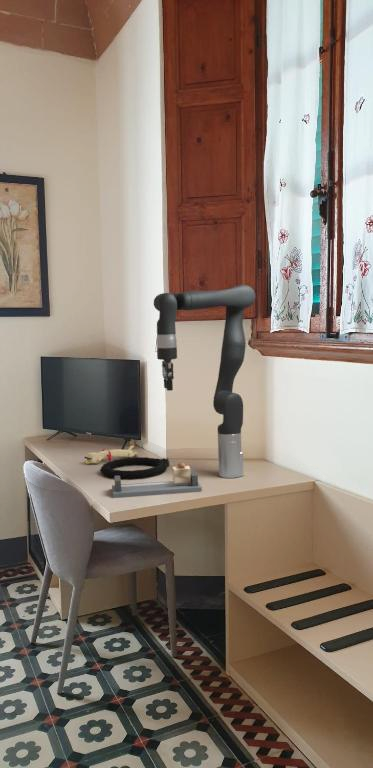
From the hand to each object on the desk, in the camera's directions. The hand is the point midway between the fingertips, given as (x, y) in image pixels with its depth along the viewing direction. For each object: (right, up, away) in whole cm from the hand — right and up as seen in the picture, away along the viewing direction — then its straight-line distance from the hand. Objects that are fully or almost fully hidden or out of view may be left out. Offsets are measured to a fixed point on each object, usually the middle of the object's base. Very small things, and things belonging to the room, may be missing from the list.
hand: (168, 389), depth 247 cm
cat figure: (-27, -33, +45) cm, 62 cm away
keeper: (+5, -34, -6) cm, 35 cm away
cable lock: (-14, -35, +24) cm, 45 cm away
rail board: (-4, -37, -7) cm, 38 cm away
